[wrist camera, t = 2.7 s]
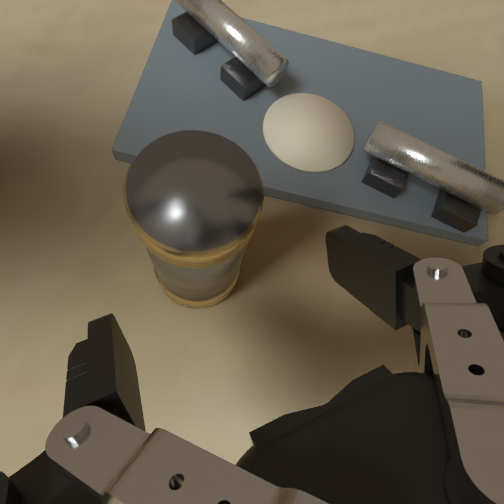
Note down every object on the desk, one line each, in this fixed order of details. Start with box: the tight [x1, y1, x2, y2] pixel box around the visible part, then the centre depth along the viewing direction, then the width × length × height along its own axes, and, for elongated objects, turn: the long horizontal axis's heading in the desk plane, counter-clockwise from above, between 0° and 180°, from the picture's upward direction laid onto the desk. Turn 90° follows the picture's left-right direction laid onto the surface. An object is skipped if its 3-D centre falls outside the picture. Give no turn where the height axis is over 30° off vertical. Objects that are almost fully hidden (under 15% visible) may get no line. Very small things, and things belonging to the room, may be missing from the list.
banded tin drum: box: [124, 130, 264, 309], centre depth 17 cm, size 5×5×10 cm
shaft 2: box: [362, 120, 504, 233], centre depth 24 cm, size 9×4×4 cm, turn 64°
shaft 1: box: [172, 0, 289, 101], centre depth 25 cm, size 9×4×4 cm, turn 44°
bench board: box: [112, 0, 488, 246], centre depth 26 cm, size 25×14×1 cm, turn 79°
